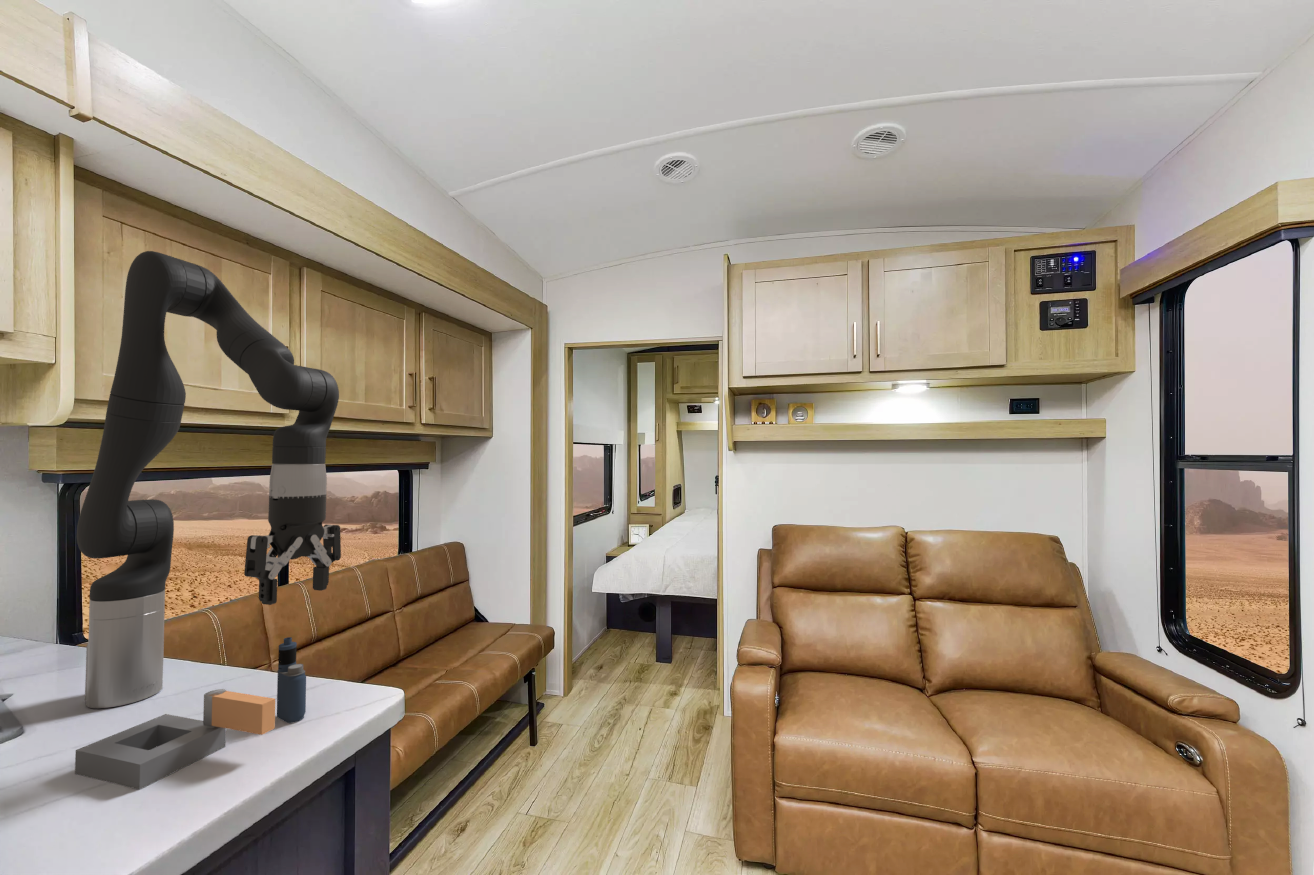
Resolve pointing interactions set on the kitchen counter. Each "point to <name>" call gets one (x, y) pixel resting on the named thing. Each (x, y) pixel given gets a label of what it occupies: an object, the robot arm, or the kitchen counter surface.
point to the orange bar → (239, 711)
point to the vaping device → (290, 684)
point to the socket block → (149, 751)
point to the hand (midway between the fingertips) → (295, 596)
